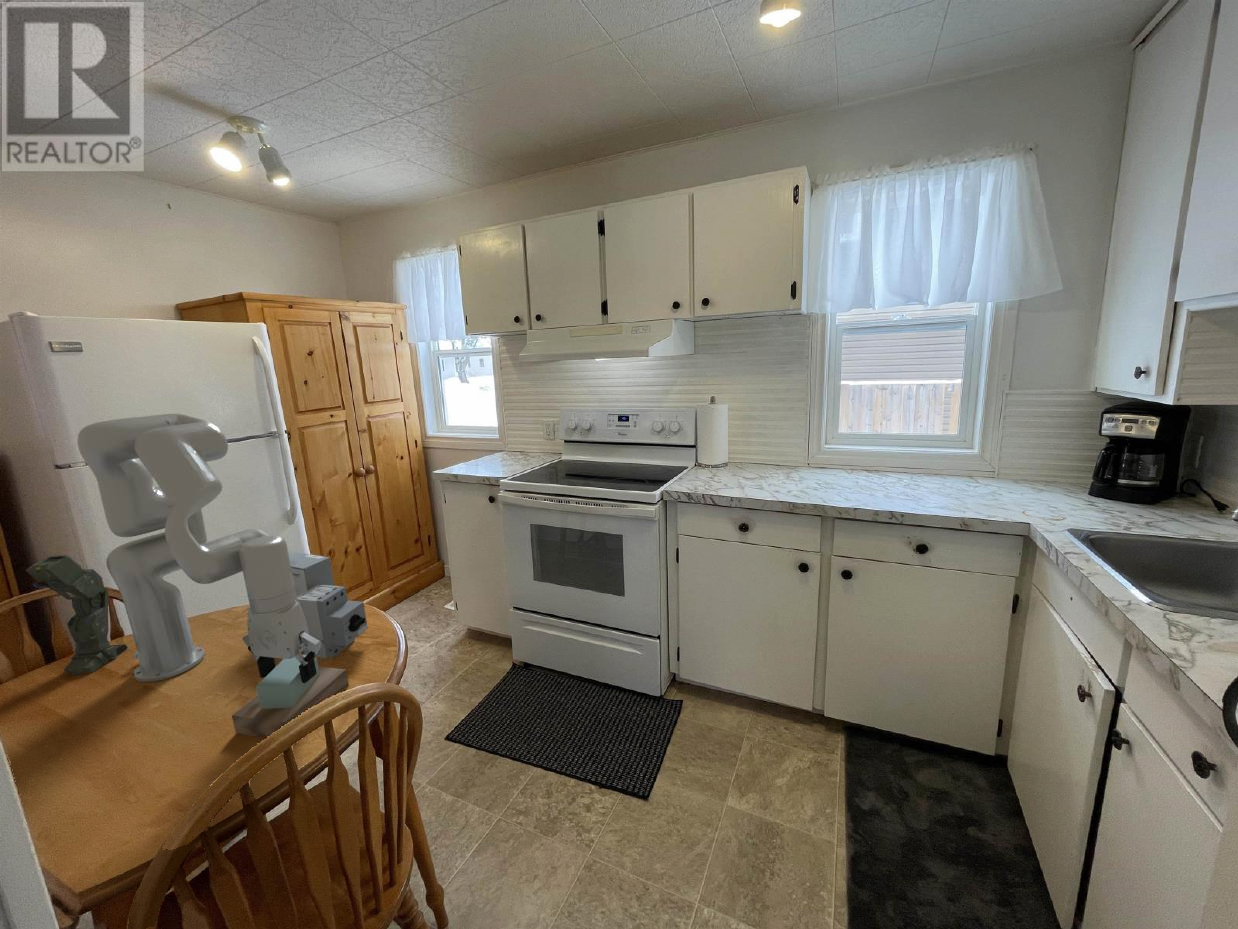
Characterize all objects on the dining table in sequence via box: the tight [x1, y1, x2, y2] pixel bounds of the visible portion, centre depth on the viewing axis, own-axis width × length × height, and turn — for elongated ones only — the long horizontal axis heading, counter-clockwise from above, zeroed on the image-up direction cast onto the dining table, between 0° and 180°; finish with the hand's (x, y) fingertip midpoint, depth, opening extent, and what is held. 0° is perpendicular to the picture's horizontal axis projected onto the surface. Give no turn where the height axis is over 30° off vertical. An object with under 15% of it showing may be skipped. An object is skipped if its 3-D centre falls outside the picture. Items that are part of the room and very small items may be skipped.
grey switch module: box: [288, 551, 336, 597], centre depth 131 cm, size 16×8×20 cm, turn 68°
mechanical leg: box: [25, 554, 129, 676], centre depth 118 cm, size 14×7×30 cm, turn 5°
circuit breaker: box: [297, 585, 369, 659], centre depth 122 cm, size 8×14×15 cm, turn 79°
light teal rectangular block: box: [255, 654, 320, 709], centre depth 102 cm, size 10×6×5 cm, turn 3°
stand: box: [231, 666, 350, 738], centre depth 103 cm, size 12×16×4 cm
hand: (288, 676), depth 102 cm, fingers open, 9 cm apart
